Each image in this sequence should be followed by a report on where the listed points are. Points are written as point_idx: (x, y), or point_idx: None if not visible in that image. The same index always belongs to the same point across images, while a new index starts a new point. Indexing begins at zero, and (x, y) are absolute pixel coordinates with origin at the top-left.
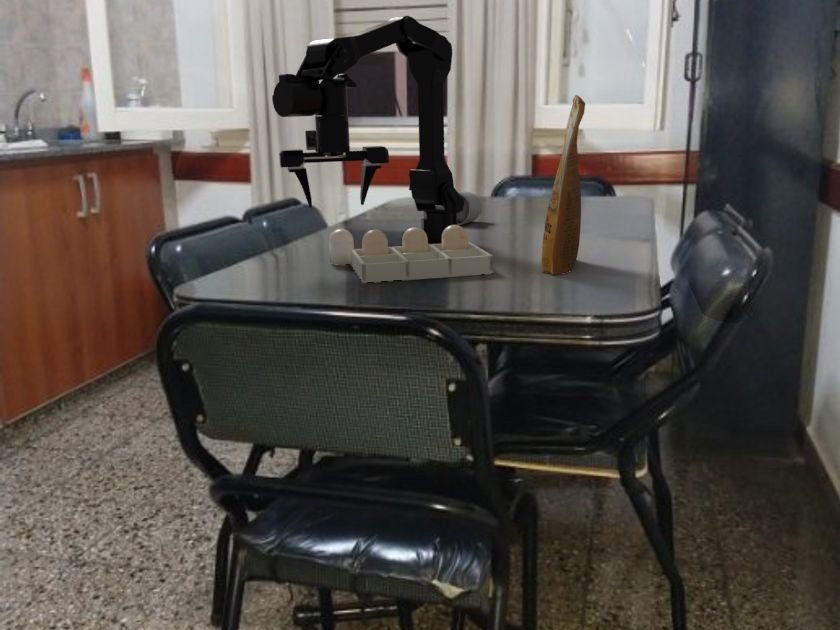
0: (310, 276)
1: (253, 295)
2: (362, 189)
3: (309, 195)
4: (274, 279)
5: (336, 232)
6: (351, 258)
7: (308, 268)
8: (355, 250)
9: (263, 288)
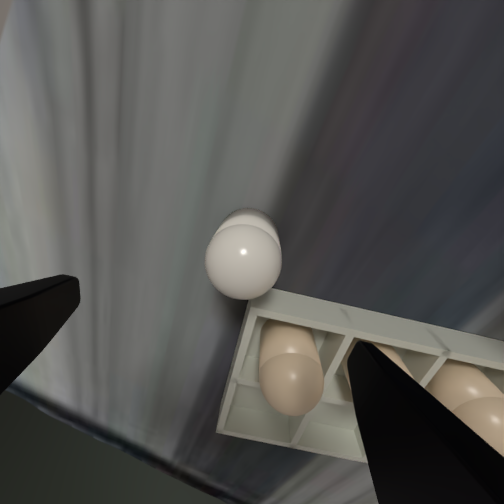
0: (153, 322)
1: (60, 384)
2: (376, 486)
3: (3, 382)
4: (87, 311)
5: (221, 287)
6: (250, 300)
7: (161, 252)
8: (259, 314)
9: (71, 357)
